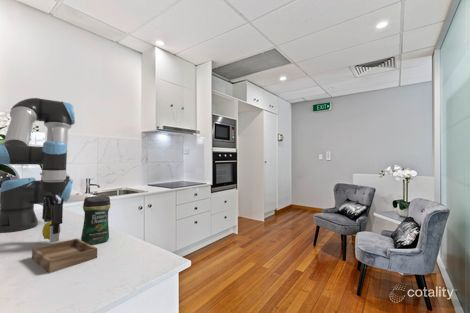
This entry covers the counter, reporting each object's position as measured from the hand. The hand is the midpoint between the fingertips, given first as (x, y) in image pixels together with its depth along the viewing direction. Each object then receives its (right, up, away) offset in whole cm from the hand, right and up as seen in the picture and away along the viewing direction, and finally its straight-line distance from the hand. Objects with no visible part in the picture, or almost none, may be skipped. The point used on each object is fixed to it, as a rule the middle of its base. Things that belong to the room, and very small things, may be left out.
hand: (51, 239), depth 88 cm
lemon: (0, -1, 0) cm, 1 cm away
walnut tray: (+15, -2, -13) cm, 20 cm away
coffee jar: (+16, -2, +3) cm, 16 cm away
